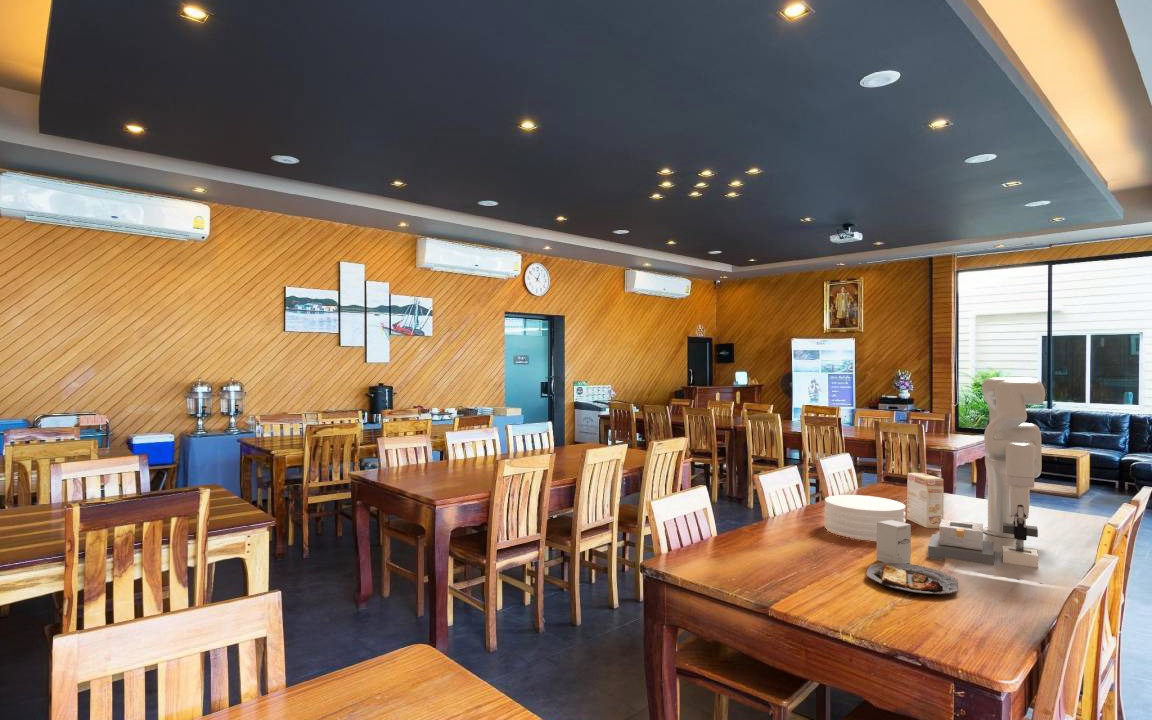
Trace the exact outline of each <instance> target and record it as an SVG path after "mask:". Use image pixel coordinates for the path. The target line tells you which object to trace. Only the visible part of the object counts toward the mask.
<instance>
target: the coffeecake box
mask: <svg viewBox="0 0 1152 720" xmlns="http://www.w3.org/2000/svg"><path fill="white" fill-rule="evenodd" d="M906 476H907V477H906V478H907V479H906V480H907V481H906V482H907V485H906V487H907V488H906V489H907V490H906V491H907V492H906V494H907V499H906V500H907V501H906V508H907V509H906V514H907V516H906V518H907V520H909V521H911V522H913V523H915V524H917V525H919V526H921V527H924V528H926V529H939V526H940V523H941V520H942V519H944V517H945V516H944V507H945V506H944V491H945V490H944V486H945V485H944V483H945V482H944V480H945V479H944V478H941V477H938V476H935V475H930V474H927V473H925V472H907V475H906Z"/></svg>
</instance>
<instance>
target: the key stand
mask: <svg viewBox="0 0 1152 720" xmlns="http://www.w3.org/2000/svg"><path fill="white" fill-rule="evenodd" d="M1002 563H1003V564H1004V563H1005V564H1012V565H1017V566H1024V567H1030V568H1039V555H1038V550H1037V549H1032V548H1026V547H1025V548H1024V552H1018V551H1016V546H1008V545H1002Z"/></svg>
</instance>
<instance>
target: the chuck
mask: <svg viewBox="0 0 1152 720" xmlns="http://www.w3.org/2000/svg"><path fill="white" fill-rule="evenodd" d="M983 528H984V524H983V523H975V522H968V521H960V520H953V519H944V518H943V519H942V520H941V523H940V526H939V528H938V533H939V534H938V535H939V544H940V545H947V546H954V547H961V548H968V549H975V550H983V541H984V532H983Z"/></svg>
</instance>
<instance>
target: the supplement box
mask: <svg viewBox="0 0 1152 720" xmlns="http://www.w3.org/2000/svg"><path fill="white" fill-rule="evenodd" d="M911 528H912V527H911V524H910V523H906V522H905V523H903V522H898V521H894V520H887V521H881V522H877V542H876V560H877V562H878V561H879V562H880V563H904V564H911V552H912V551H911V549H912V548H911V547H912V545H911V544H912V543H911V542H912V541H911V540H912V539H911V536H912V535H911V532H912V529H911Z"/></svg>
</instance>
